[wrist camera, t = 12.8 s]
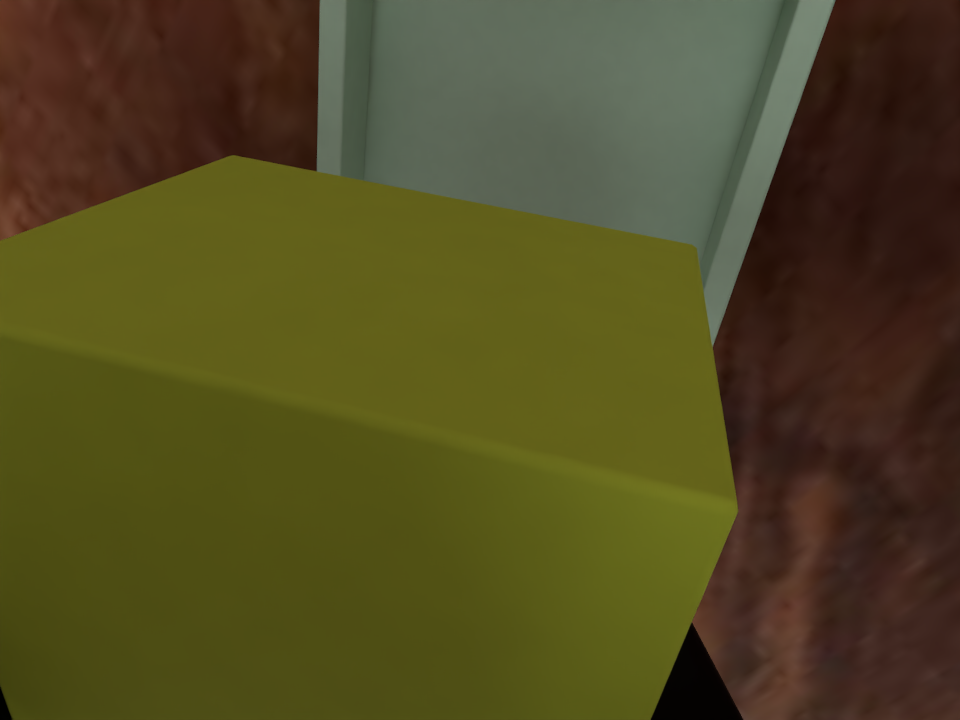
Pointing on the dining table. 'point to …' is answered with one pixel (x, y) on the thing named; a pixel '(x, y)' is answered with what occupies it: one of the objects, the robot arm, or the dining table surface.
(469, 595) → the sponge
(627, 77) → the pan
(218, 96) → the dining table surface
